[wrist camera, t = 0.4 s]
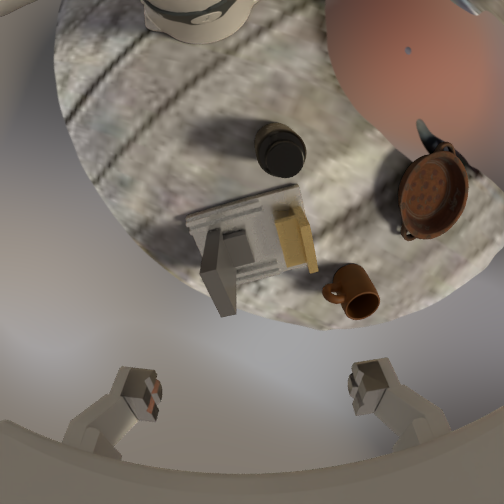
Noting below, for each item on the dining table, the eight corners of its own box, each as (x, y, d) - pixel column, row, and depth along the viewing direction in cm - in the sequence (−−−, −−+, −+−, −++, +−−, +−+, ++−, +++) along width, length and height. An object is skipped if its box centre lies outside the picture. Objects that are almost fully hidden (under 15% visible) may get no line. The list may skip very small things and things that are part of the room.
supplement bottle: (275, 113, 41) (288, 121, 31) (304, 143, 44) (324, 161, 33) (244, 142, 43) (246, 159, 33) (273, 170, 46) (284, 196, 36)
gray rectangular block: (207, 232, 50) (199, 273, 39) (242, 222, 49) (244, 262, 39) (223, 272, 54) (221, 317, 44) (256, 263, 54) (261, 308, 43)
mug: (308, 284, 59) (317, 316, 51) (321, 255, 55) (334, 285, 47) (355, 292, 61) (369, 322, 53) (370, 265, 57) (387, 294, 50)
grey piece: (186, 215, 50) (178, 239, 42) (297, 183, 47) (308, 203, 40) (216, 283, 58) (214, 312, 51) (313, 258, 56) (323, 286, 49)
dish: (468, 156, 44) (483, 163, 40) (430, 243, 55) (441, 255, 51) (411, 122, 41) (427, 127, 37) (371, 226, 53) (382, 238, 48)
